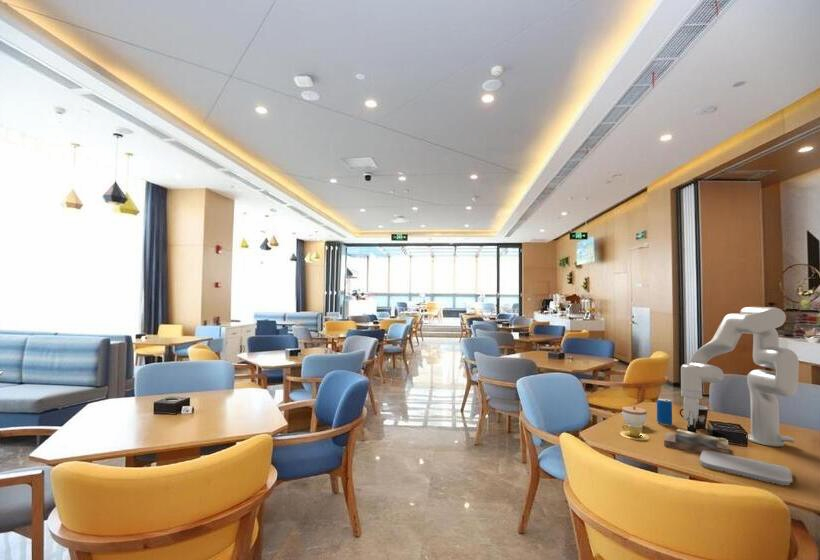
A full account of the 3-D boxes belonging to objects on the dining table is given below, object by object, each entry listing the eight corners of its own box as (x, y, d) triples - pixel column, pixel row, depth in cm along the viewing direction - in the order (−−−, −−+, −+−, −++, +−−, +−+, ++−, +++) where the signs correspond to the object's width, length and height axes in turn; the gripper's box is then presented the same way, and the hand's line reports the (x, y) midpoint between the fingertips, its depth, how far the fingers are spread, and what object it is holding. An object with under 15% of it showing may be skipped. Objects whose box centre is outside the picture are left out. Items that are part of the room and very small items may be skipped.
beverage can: (674, 426, 199) (674, 401, 199) (660, 425, 200) (659, 400, 201) (668, 422, 205) (668, 398, 206) (654, 421, 206) (654, 397, 207)
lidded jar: (621, 426, 198) (621, 406, 198) (622, 420, 207) (622, 402, 208) (646, 430, 193) (646, 410, 193) (647, 424, 202) (646, 405, 202)
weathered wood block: (727, 448, 170) (727, 435, 171) (729, 458, 160) (729, 444, 160) (666, 437, 183) (666, 424, 183) (664, 445, 172) (664, 433, 173)
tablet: (702, 454, 165) (702, 449, 165) (790, 473, 148) (789, 467, 148) (698, 467, 152) (698, 461, 152) (793, 489, 135) (793, 483, 135)
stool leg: (728, 447, 164) (728, 439, 164) (726, 449, 162) (726, 440, 162) (678, 435, 177) (678, 427, 177) (676, 437, 175) (676, 429, 175)
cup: (652, 436, 185) (652, 424, 185) (645, 443, 176) (645, 430, 176) (623, 430, 193) (623, 418, 193) (616, 436, 184) (616, 424, 184)
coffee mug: (707, 426, 199) (707, 406, 199) (709, 431, 191) (708, 410, 192) (679, 422, 205) (678, 402, 205) (679, 427, 198) (679, 406, 198)
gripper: (682, 388, 184) (682, 429, 183) (680, 395, 172) (680, 438, 171) (702, 391, 179) (702, 433, 179) (701, 398, 167) (702, 442, 167)
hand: (691, 435), depth 175 cm, fingers closed
